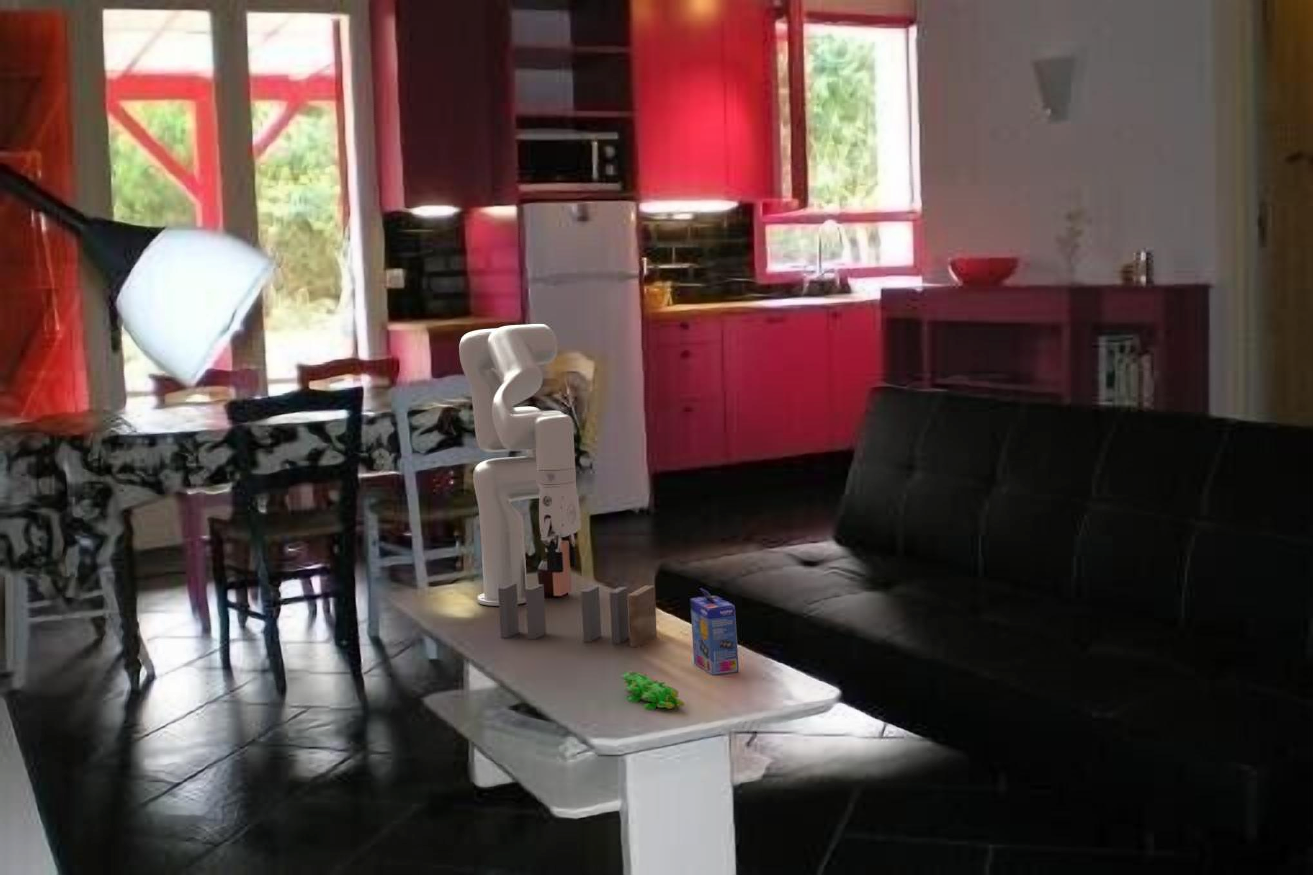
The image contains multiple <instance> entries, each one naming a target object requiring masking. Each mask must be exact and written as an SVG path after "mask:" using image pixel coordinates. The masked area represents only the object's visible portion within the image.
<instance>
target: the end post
mask: <svg viewBox="0 0 1313 875" xmlns="http://www.w3.org/2000/svg"><path fill="white" fill-rule="evenodd" d="M655 589H656V588H655V585H644V586H642V587H640V588H638V589H636V590H634V591H633V592H631V593H629V594H627V596H628V617H629V644H630V646H629V647H630V648H631V647H632V648H633V647H634V648H635V647H636V648H641V647H642V646H644V645H646V644H647V643H649V641H651V640H653V639H655V638H656V637H657V636H658V635H657V634H658V630H657V612H656V611H657V610H656V609H657V608H656V590H655ZM655 636H656V637H655Z"/></svg>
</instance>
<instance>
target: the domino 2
mask: <svg viewBox="0 0 1313 875" xmlns="http://www.w3.org/2000/svg"><path fill="white" fill-rule="evenodd" d="M525 590H526V603H525V604H526V605H525V606H526V623H527V640H537V639H539V638H540V637H543V636H544V635H546V634H547V625H546V608H545V607H546V605H545V604H546V602H545V597H544V584H539V583H537V584H533V585H531V586H529V587H527V589H525Z"/></svg>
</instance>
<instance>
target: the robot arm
mask: <svg viewBox="0 0 1313 875" xmlns="http://www.w3.org/2000/svg"><path fill="white" fill-rule="evenodd" d="M460 339H461V340H460V342H459V346H458V347H459V350H458V352H459V360H460V364H461V369H462V371H463V373H464V376H465V378H466V380H467V383H468V386H469V389H470V393H471V400H472V401H471V402H472V411H473V412H472V413H473V421H474V423H473V424H474V432H475V438H476V443H477V445H478V447H479V449H480V450H481V451H482V452H485V453H503V452H523V451H525V452H526V454H527V455H523V456H510V457H498V458H490V459H487V460H483V461H481V462H479V463H478V464H477V465H476V466H475V467H474V469H473V472H472V473H473V475H472V480H473V487H474V491H475V496H476V497H475V498H476V501H477V505H478V506H477V507H478V513H479V514H478V516H479V529H480V546H481V561H482V563H481V564H482V580H483V593H480V594H478V596H477V598H476V599H477V600H476V601H477V603H479V604H480V605H485V606H494V607H499V595H498V588H500V587H502V586H504V585H506V584H509V583H516V584H517V602H518V605H522V604H526V590H525V589H527V588H528V585H527V584H528V583H527V567H526V566H527V565H526V551H525V550H526V548H525V546H526V545H525V528H524V525H525V524H524V520H523V517H522V515H521V514H520V512H519V511H518V510H516V509H515V507H514V506H513V505H512V502H514V501H515V502H516V501H522V500H532V499H539V500H538V520H539V521H538V522H539V533H540V540H541V542H542V543H543V545H544V550H545V553H546V559H547V571H548V572H556V573H561V572H563V553H562V552H560V550H561V541H569V553H570V568H574V567H576V555H575V554H576V552H575V546H576V541H575V540H576V539H575V538H576V533H578V532H579V531H580V530H581V528H582V518H581V509H580V500H579V493H578V487H577V478H576V476H577V473H576V460H575V459H576V458H575V440H574V438H575V437H574V423H573V422H574V421H573V419H572V417H571V416H570V415H569V414H566V413H565V414H564V413H563V412H562V411H560V410H541V409H540V408H538V407H535V406H518V407H514V406H516V405H518V404H519V403H520V404H521V403H522V402H523V401H526V400H528V399H529V398H531V397H532V396H534V395H535V394H536V393H537V392H538V391H539V390H540V388H541V387H542V385H543V380H544V378H543V373H542V371H541V369H540V368H541V367H540V365H547V364H550V363H552V362H553V361H555V359H556V357H557V355H558V341H557V337H556V335H555V333H554V331H553V330H552V328H551V327H549V325H546V324H543V323H533V324H515V325H514V324H513V325H512V324H511V325H504V326H500V327H498V328H485V329H484V328H483V329H477V330H472V331H469V332H467V333H465V334H464V335H463V336H462V337H461V338H460ZM554 540H555V541H554ZM555 543H556V544H555Z"/></svg>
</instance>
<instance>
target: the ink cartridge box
mask: <svg viewBox="0 0 1313 875" xmlns="http://www.w3.org/2000/svg"><path fill="white" fill-rule="evenodd" d="M699 589H700V592H702V594H703V596H698V597H692V598H689V599H690V600H689V601H690V603H689V604H690V616H691V617H690V618H691V635H692V650H693V651H692V652H693V654H692V655H693V663H694V664H695V665H697V666H698V667H699V668H701V669H703V670H704V671H706V672H707V673H708V674H709V675H711V676H716V675H722V674H730V673H731V674H733V673H738V672H739V671H740V665H739V664H740V661H739V652H738V650H739V648H738V636H737V624H736V623H737V621H736V620H737V619H736V608H735V605H734V604H733V603H731V602H730V601H727V600H724V599H723V598H722V597H719V596H717V595H711V594H710V593H709V591H707V590H705V589H703V588H699Z"/></svg>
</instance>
